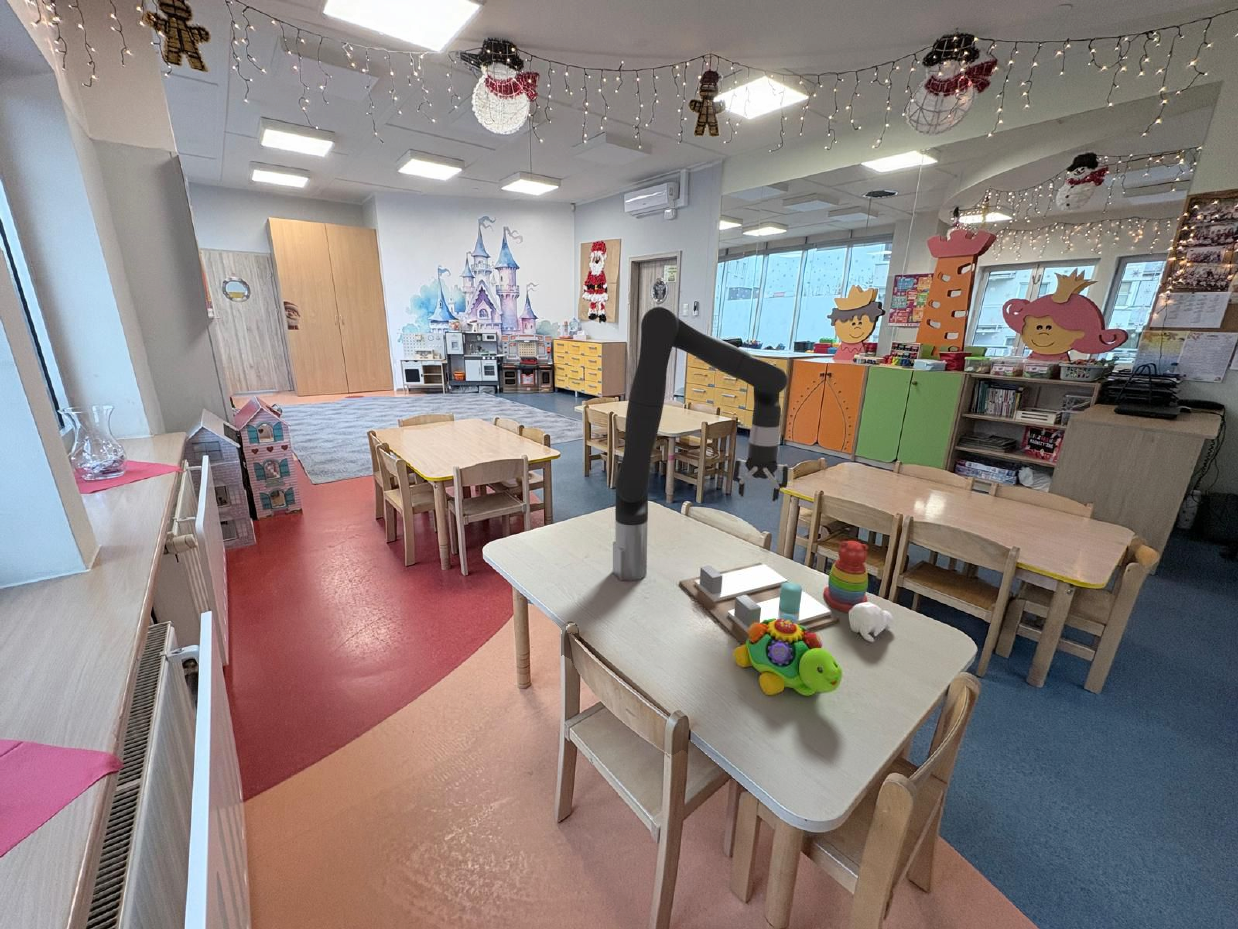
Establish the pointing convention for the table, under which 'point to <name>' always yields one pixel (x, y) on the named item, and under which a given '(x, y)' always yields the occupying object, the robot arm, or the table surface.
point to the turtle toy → (788, 657)
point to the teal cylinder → (790, 598)
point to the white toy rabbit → (869, 619)
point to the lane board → (722, 607)
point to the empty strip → (736, 581)
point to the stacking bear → (848, 577)
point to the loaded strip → (774, 610)
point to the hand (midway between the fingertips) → (758, 498)
